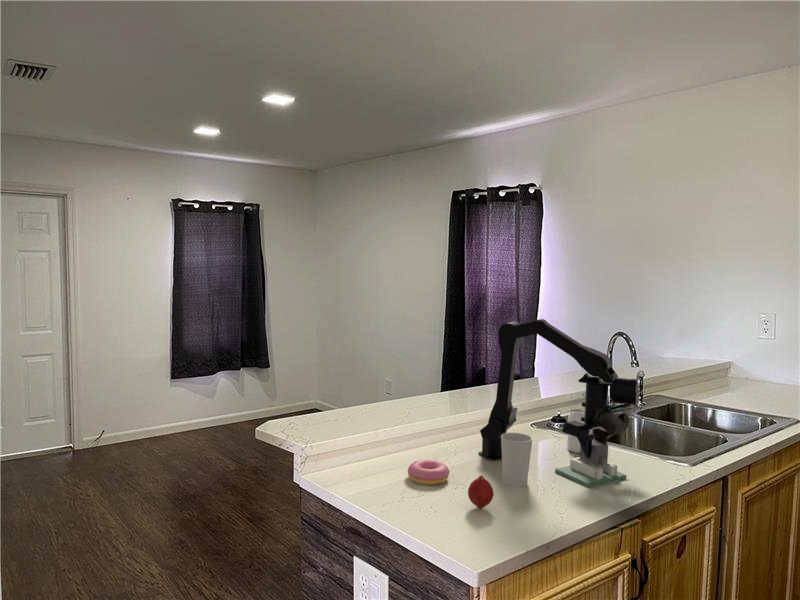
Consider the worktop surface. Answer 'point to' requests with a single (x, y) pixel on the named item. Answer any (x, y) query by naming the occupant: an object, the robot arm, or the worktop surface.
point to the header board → (590, 472)
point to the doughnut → (428, 472)
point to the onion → (480, 492)
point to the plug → (596, 453)
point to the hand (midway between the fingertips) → (593, 457)
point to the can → (572, 441)
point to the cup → (515, 458)
